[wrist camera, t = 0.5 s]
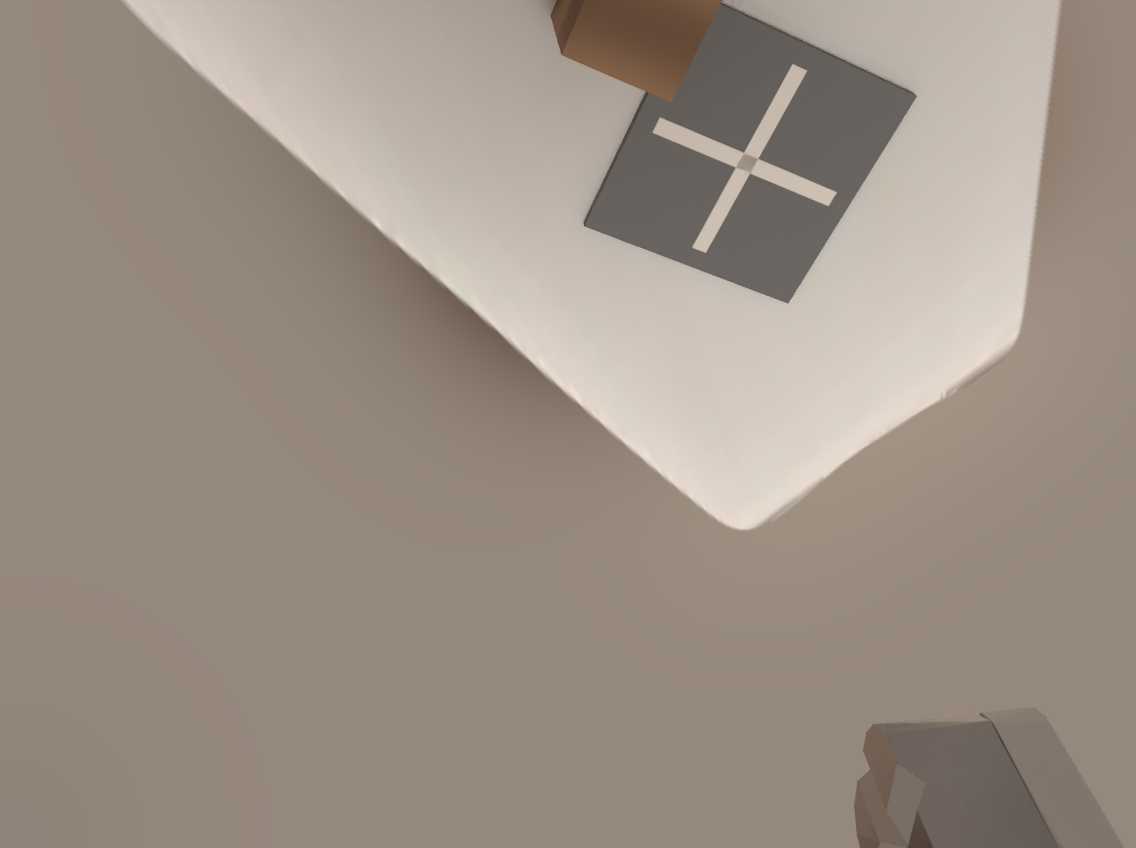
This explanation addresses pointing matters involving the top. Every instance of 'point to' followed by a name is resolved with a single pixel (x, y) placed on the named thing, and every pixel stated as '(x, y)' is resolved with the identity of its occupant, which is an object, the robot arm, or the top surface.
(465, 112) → the top surface
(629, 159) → the pad
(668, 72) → the walnut block
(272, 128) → the top surface
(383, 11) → the top surface
